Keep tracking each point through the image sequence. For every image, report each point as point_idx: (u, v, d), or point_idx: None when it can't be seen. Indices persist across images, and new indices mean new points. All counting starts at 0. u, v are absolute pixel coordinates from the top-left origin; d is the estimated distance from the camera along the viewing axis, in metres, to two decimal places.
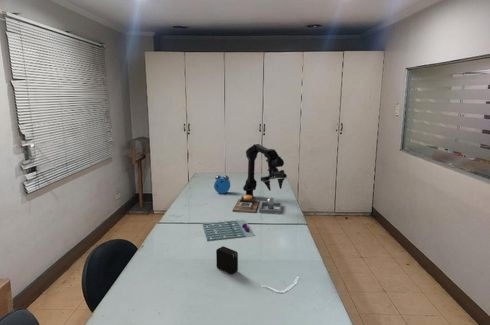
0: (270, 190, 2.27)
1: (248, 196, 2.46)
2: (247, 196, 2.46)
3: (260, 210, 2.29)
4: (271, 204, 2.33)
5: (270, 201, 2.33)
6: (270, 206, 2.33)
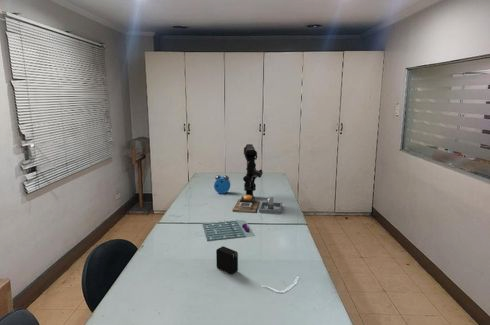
0: (249, 188, 2.37)
1: (248, 196, 2.46)
2: (247, 196, 2.46)
3: (260, 210, 2.29)
4: (271, 204, 2.33)
5: (270, 201, 2.33)
6: (270, 206, 2.33)
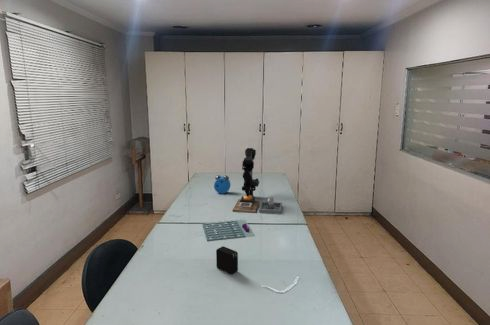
0: None
1: (248, 196, 2.46)
2: (247, 196, 2.46)
3: (260, 210, 2.29)
4: (271, 204, 2.33)
5: (270, 201, 2.33)
6: (270, 206, 2.33)
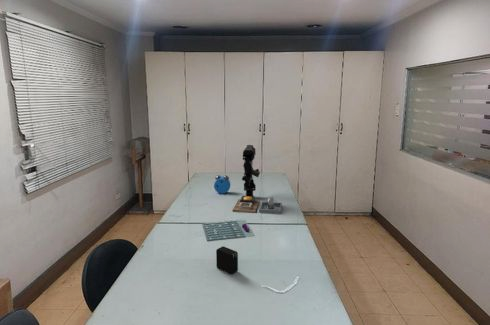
0: (248, 186, 2.45)
1: (248, 197, 2.47)
2: (247, 197, 2.47)
3: (260, 210, 2.29)
4: (271, 204, 2.33)
5: (270, 201, 2.33)
6: (270, 206, 2.33)
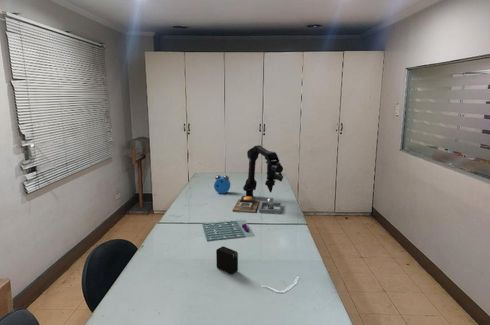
0: None
1: (248, 197, 2.47)
2: (247, 197, 2.47)
3: (260, 210, 2.29)
4: (271, 204, 2.33)
5: (270, 201, 2.33)
6: (270, 206, 2.33)
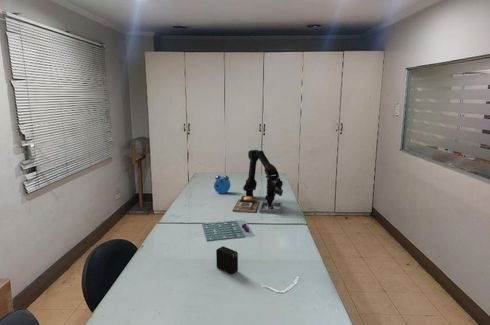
0: None
1: (248, 197, 2.47)
2: (247, 197, 2.47)
3: (260, 210, 2.29)
4: None
5: None
6: None
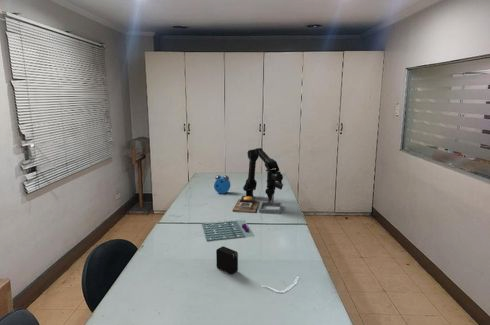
0: None
1: (248, 197, 2.47)
2: (247, 197, 2.47)
3: (260, 210, 2.29)
4: None
5: None
6: None
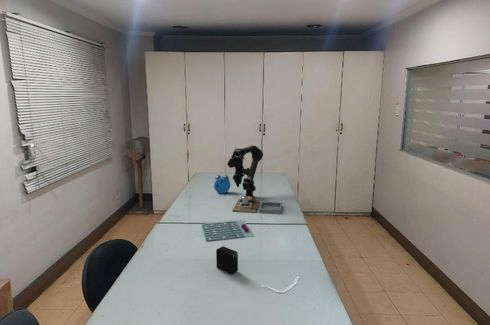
0: None
1: (248, 197, 2.47)
2: None
3: (260, 210, 2.29)
4: (245, 202, 2.34)
5: (244, 199, 2.34)
6: (244, 204, 2.34)
